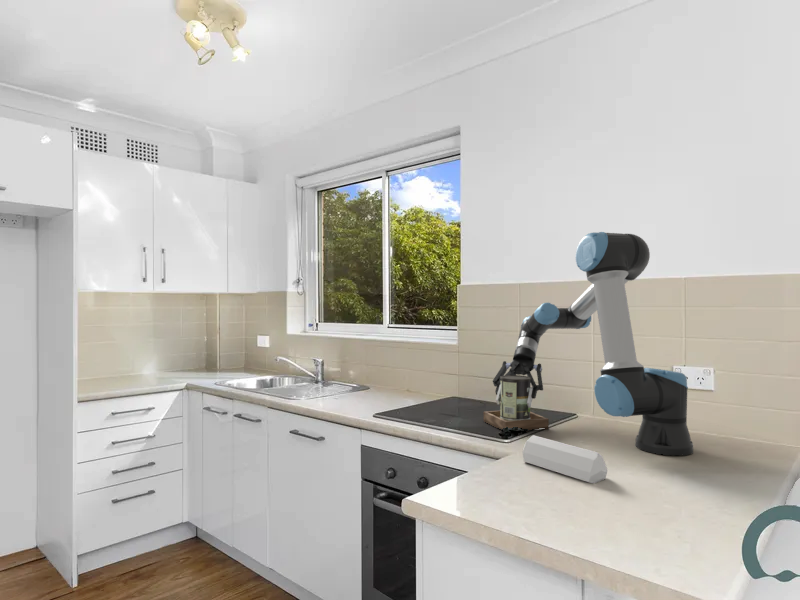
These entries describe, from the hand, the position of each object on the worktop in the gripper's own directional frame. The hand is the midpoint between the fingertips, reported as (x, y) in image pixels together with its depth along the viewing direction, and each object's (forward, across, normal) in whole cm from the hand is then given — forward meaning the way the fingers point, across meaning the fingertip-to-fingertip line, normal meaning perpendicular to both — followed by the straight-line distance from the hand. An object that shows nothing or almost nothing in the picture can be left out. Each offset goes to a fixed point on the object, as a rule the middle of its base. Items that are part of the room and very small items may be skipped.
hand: (512, 403), depth 183 cm
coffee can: (+2, 0, -6) cm, 6 cm away
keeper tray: (+4, 0, -8) cm, 8 cm away
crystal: (+33, -24, +21) cm, 45 cm away
